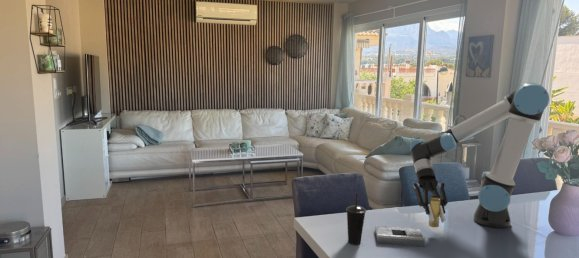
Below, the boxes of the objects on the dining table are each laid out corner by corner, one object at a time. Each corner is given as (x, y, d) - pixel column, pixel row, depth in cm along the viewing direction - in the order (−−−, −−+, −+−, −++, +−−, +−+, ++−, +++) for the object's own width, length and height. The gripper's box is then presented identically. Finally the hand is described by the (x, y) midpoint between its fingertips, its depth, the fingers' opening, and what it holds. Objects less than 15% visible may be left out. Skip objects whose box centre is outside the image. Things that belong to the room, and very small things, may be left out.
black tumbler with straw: (366, 240, 165) (369, 192, 162) (361, 248, 159) (364, 197, 156) (347, 236, 169) (350, 189, 166) (342, 244, 162) (344, 194, 159)
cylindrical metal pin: (437, 224, 174) (439, 196, 172) (440, 227, 170) (441, 199, 168) (427, 223, 174) (429, 195, 173) (429, 227, 170) (431, 198, 169)
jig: (418, 234, 173) (419, 226, 173) (424, 246, 161) (425, 238, 161) (374, 231, 175) (375, 223, 175) (377, 243, 164) (377, 235, 163)
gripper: (440, 175, 185) (455, 225, 171) (403, 176, 184) (414, 225, 170) (446, 166, 179) (461, 217, 165) (407, 167, 178) (419, 217, 164)
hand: (437, 221), depth 168 cm, fingers closed on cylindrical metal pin, 4 cm apart
